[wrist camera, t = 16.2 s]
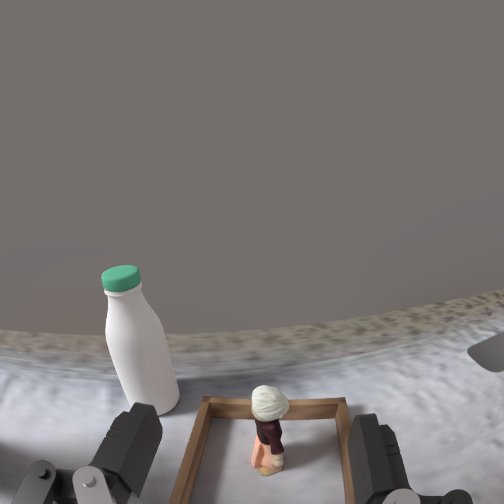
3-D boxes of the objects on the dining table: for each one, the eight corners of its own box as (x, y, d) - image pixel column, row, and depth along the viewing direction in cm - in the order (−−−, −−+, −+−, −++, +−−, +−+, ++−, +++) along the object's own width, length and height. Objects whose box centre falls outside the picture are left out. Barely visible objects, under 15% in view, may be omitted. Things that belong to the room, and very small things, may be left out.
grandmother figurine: (240, 445, 29) (230, 371, 26) (270, 436, 31) (269, 360, 27) (265, 494, 23) (263, 430, 19) (298, 481, 24) (309, 413, 20)
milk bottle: (190, 402, 37) (163, 270, 31) (143, 425, 32) (96, 290, 26) (164, 375, 42) (138, 255, 36) (122, 394, 37) (82, 270, 31)
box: (175, 517, 19) (167, 508, 18) (206, 410, 35) (203, 396, 34) (357, 523, 17) (364, 514, 16) (341, 412, 33) (345, 397, 33)
